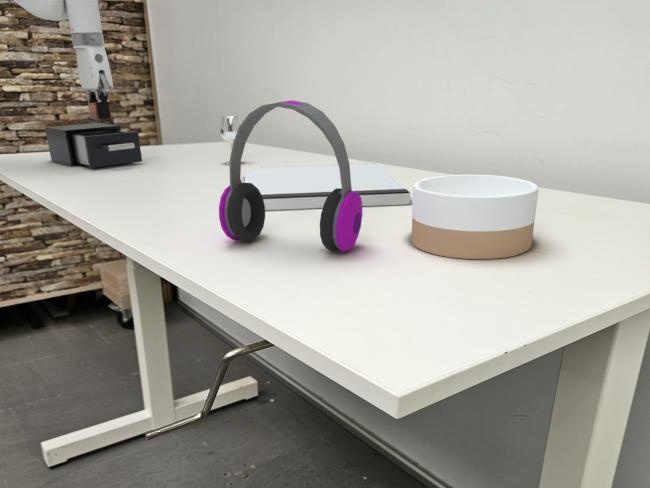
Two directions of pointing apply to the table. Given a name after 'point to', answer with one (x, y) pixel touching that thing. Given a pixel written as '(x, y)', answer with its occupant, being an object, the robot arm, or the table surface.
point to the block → (94, 110)
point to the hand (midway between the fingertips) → (100, 117)
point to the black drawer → (105, 148)
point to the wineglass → (229, 128)
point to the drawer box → (61, 141)
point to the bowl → (473, 216)
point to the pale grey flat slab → (324, 185)
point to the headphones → (247, 202)
